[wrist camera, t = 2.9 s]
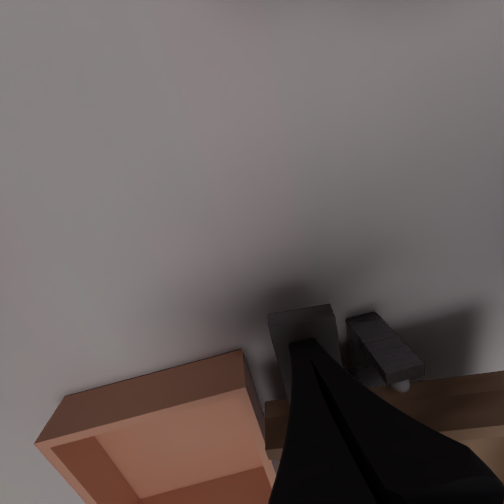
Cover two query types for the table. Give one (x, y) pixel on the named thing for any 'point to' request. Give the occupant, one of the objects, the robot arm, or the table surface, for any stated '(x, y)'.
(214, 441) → the tray
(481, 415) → the brown wooden tray
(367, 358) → the seesaw stand
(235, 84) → the table surface
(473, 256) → the table surface
